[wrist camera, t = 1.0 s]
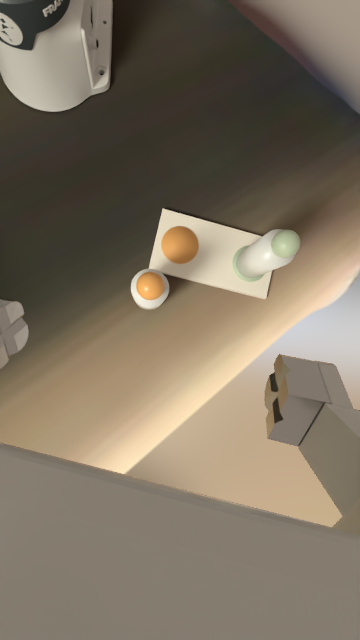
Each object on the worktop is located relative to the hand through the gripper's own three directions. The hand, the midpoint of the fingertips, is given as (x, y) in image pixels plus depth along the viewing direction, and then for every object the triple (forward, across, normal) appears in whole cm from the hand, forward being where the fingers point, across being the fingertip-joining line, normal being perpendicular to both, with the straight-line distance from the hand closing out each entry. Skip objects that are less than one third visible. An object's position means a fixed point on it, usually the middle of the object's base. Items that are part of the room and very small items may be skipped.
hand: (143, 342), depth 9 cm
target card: (+39, -1, +11) cm, 40 cm away
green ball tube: (+39, -7, +12) cm, 41 cm away
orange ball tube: (+32, +8, +17) cm, 37 cm away
